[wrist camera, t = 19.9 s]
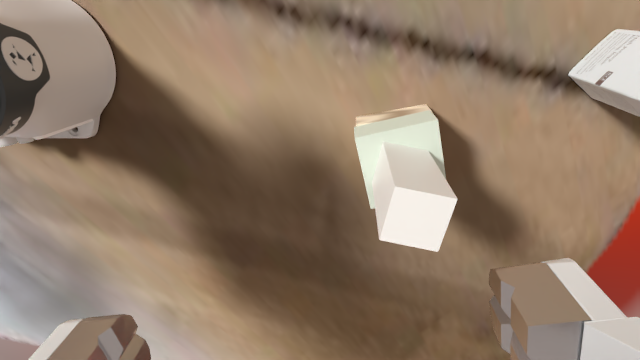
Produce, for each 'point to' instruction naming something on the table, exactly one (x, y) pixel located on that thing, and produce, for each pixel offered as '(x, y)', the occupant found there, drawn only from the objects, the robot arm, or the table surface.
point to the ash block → (389, 114)
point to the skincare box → (613, 71)
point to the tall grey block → (411, 197)
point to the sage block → (397, 141)
